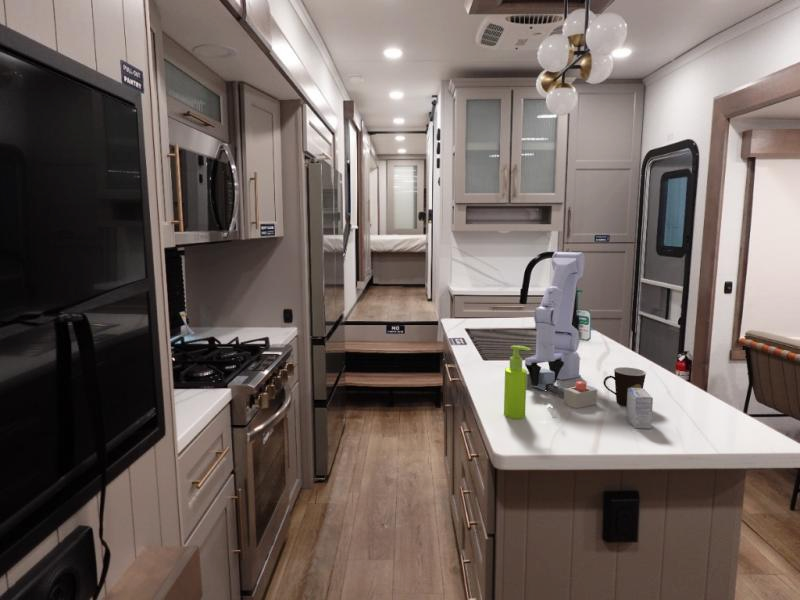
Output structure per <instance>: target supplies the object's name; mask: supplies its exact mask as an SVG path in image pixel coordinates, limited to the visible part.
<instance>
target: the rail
mask: <svg viewBox="0 0 800 600" xmlns="http://www.w3.org/2000/svg"><path fill="white" fill-rule="evenodd" d="M564 389H565V388H562V387H560V386H557V385H555V384H554V385H552V384H546V391H545V392H548V393H550V392H551V393H550V394H552V393H553V395H554V396H557V395H558V396H557V397H559V396H560V398H561V399H564Z"/></svg>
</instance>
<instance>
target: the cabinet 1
mask: <svg viewBox="0 0 800 600" xmlns="http://www.w3.org/2000/svg"><path fill="white" fill-rule="evenodd" d="M526 371H527V373H526V388H530V387H529V386H531V387H534V386H533V385H532V382H531V378H530V374H529V372H528V370H526Z"/></svg>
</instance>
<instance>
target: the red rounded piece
mask: <svg viewBox="0 0 800 600" xmlns="http://www.w3.org/2000/svg"><path fill="white" fill-rule="evenodd" d="M586 386H587V382H585V381H581V380H578V381H576V382H575V387H576V388H575V390H576V391H579V392H585V391H586Z"/></svg>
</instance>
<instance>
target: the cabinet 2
mask: <svg viewBox="0 0 800 600" xmlns="http://www.w3.org/2000/svg"><path fill="white" fill-rule="evenodd" d="M575 388H576V386H573V387H567V388H563V389H564V398H563V404H565V405H568V406H569V405H570V406H569V407H572V408H573V409H574V408H575V409H581V408H585V406H586V407H590V405H591V406H594V405H595V406H596V405H597V403H598V402H597V399H598V389H596V388H593V387H590V386H587V385H586V391H585V392H579V391H576V390H575Z"/></svg>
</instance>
